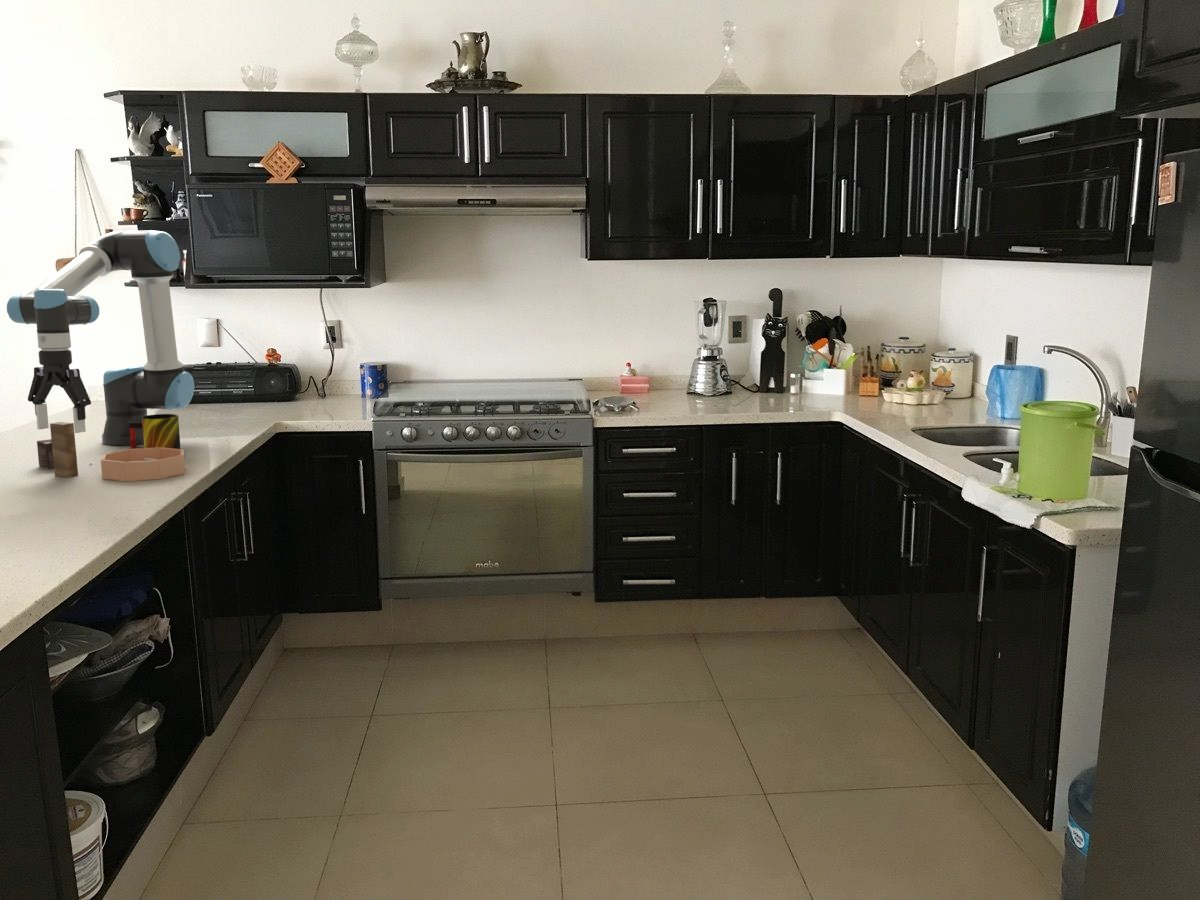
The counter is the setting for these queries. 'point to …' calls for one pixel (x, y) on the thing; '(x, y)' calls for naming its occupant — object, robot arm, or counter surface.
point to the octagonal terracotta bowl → (143, 464)
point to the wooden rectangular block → (64, 449)
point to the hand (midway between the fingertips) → (61, 430)
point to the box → (45, 454)
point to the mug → (157, 431)
